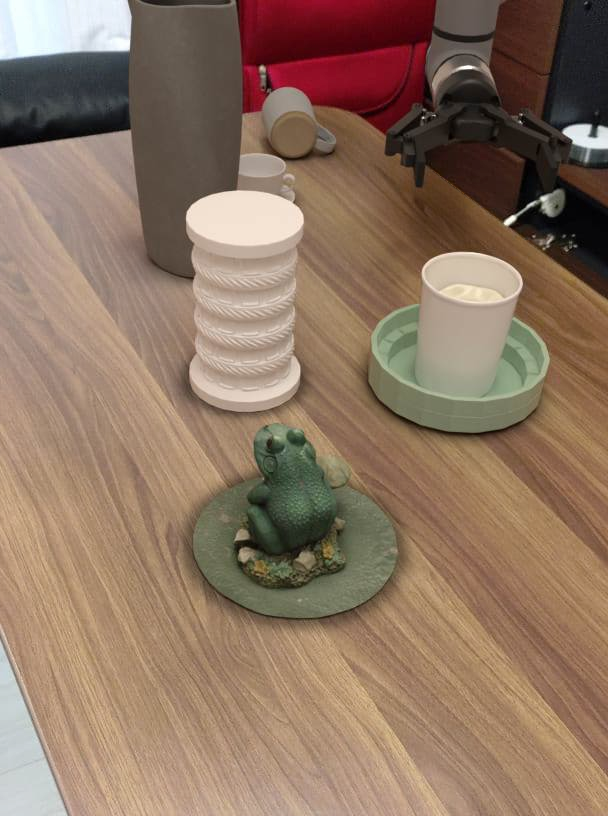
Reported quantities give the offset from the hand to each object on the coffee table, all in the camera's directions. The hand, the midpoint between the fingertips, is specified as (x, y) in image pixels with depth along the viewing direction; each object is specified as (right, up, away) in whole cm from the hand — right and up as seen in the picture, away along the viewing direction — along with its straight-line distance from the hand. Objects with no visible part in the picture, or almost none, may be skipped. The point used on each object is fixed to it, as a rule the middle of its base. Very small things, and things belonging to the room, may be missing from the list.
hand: (486, 178), depth 101 cm
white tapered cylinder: (-3, -20, +2) cm, 21 cm away
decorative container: (-25, -21, +2) cm, 32 cm away
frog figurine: (-20, -38, -15) cm, 45 cm away
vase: (-32, -3, +19) cm, 38 cm away
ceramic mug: (-20, +20, +44) cm, 52 cm away
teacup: (-25, +9, +32) cm, 41 cm away
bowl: (-3, -21, +3) cm, 21 cm away
